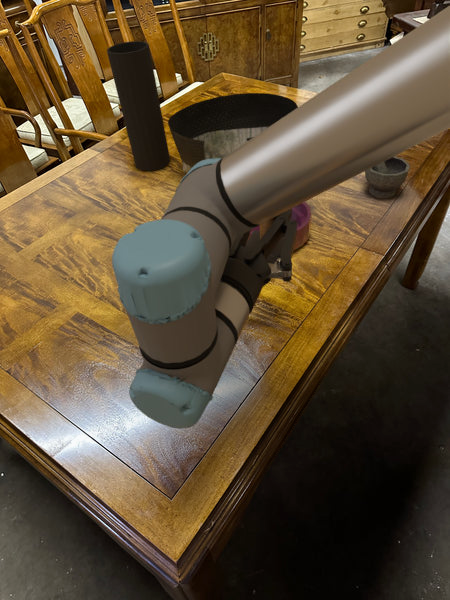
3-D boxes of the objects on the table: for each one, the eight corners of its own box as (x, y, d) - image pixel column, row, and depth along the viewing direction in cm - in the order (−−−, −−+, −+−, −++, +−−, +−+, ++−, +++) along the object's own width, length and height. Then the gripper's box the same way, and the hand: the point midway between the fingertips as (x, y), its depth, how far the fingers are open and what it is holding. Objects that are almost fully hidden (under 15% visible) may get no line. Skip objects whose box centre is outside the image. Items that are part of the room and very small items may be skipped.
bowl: (322, 225, 94) (324, 204, 90) (286, 267, 85) (286, 245, 81) (259, 206, 102) (259, 185, 98) (220, 242, 93) (218, 222, 89)
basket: (287, 212, 99) (289, 146, 88) (161, 189, 111) (148, 128, 100) (320, 157, 117) (325, 96, 105) (208, 142, 129) (202, 86, 117)
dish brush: (292, 259, 68) (296, 170, 57) (282, 280, 64) (285, 191, 53) (254, 252, 70) (251, 165, 59) (243, 272, 66) (238, 184, 55)
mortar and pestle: (410, 189, 102) (423, 141, 93) (391, 206, 97) (403, 158, 89) (368, 175, 108) (377, 129, 99) (349, 191, 103) (356, 144, 95)
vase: (159, 173, 118) (134, 54, 96) (129, 169, 121) (98, 53, 100) (176, 156, 124) (156, 41, 103) (146, 153, 127) (121, 40, 106)
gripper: (168, 308, 54) (233, 209, 69) (284, 337, 49) (327, 224, 64) (157, 264, 49) (230, 167, 64) (286, 291, 44) (332, 180, 59)
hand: (278, 196), depth 64 cm, fingers closed on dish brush, 2 cm apart
